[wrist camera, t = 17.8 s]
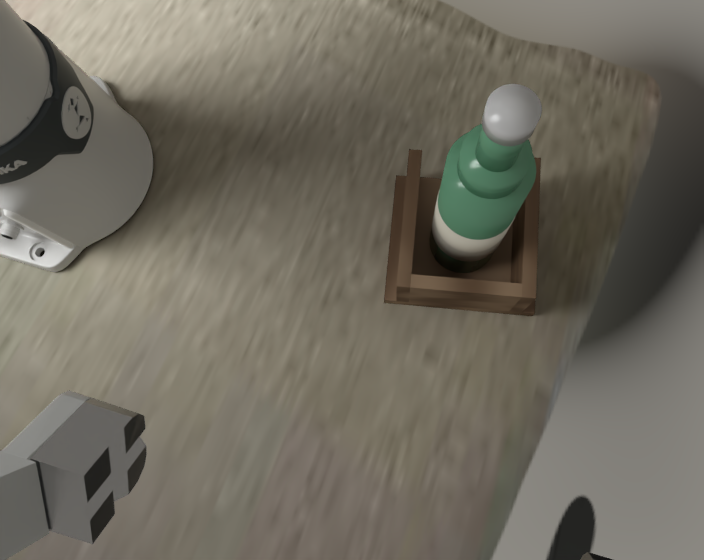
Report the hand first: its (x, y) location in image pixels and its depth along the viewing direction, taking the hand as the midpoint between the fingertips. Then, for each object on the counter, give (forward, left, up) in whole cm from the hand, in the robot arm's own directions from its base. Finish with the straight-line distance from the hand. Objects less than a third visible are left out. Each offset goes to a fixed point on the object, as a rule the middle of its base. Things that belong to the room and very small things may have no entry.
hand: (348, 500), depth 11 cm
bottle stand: (+5, +17, -37) cm, 41 cm away
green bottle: (+5, +17, -36) cm, 41 cm away
